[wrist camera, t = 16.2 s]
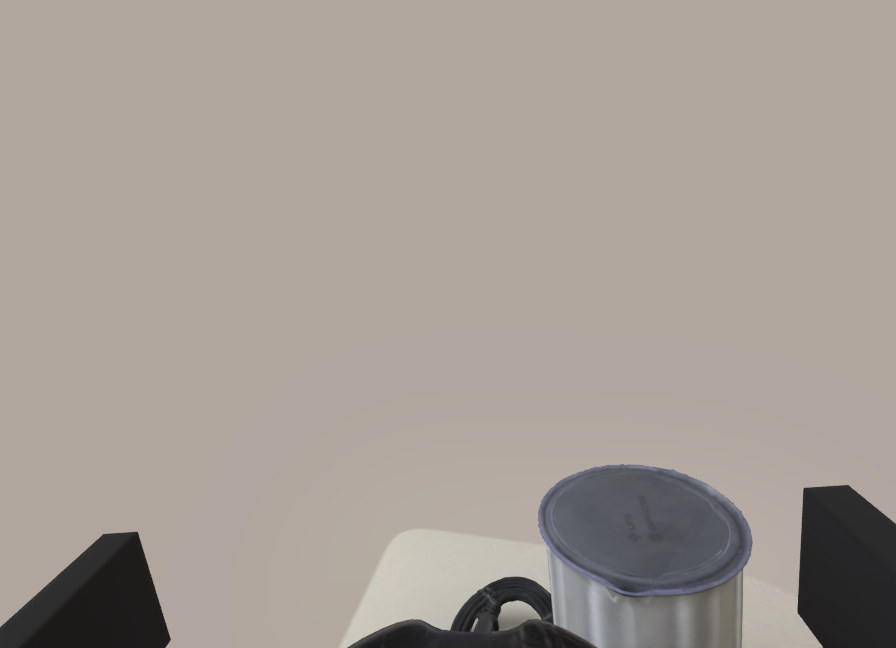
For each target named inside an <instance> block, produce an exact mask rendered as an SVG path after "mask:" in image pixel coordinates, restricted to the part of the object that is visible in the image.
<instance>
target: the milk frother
mask: <svg viewBox="0 0 896 648" xmlns="http://www.w3.org/2000/svg"><path fill="white" fill-rule="evenodd" d="M538 521H539V524H538V526H539V528H540V532H541V535H542V537H543V539H544V541H545V542H546V544H547V553H548V565H549V576H550V588H551V594H550V593H549V592H548V591H547V590H546V589H544V588H543V587H542V586H541V585H539V584H538V583H537V582H535V581H533V580H530V579H527V578H524V577H505V578H502V579H500V580H497V581H495V582H492V583H490V584H488V585H487V586H485V587H484V588H482V589H480V590H479V591H477V593H476V594H474V595H473V596H472V597H471V598H470V599H469V600H468V601H467V602H466V603H465V604H464V605H463V606H462V608H461V609H460V611H459V612H458V614H457V615H456V617H455V619H454V621H453V624H452V627H451V630H450V631H466V632H470V630H471V628H472V626H473V624H474V621H475V619H476V618H478V622H477V624H476V627H475V629H474V632H490V631H498V630H499V626H498V620H497V619H498V616H499V614H500V612H501V606H502V605H503V604H504V603H507V602H513V601H517V600H519V601H523V602H525V603H527V604H529V605H530V606H532V608H533V609H534V610H535V611H536V612H537V613H538V614H539V615H540V617H541V619H542V621H546V622H550V623H552V624H555V625H557V626H559V627H562V628H564V629H566V630H568V631H570V632H572V633H574V634H576V635H578V636H580V637H581V638H583V639H585V640H587V641H588V642H590V643H591V644H593V645H594V646H596V647H597V648H742V607H743V568H744V566H745V565H746V564H747V562H748V560H749V557H750V555H751V548H752V535H751V530H750V527H749V525H748V523H747V521H746V519H745V518H744V516H743V515H742V512H741V511H740V510H739V509H738V508H737V507H736V506H735V505H734V504H733V503H732V502H731V501H730V500H729V499H728V498H726V497H725V496H724V495H722V494H721V493H719V492H718V491H717V490H716V489H714V488H712V487H711V486H709V485H708V484H706V483H704V482H702V481H699V480H697V479H694V478H692V477H689V476H688V475H686V474H682V473H679V472H677V471H675V470H667V469H661V468H656V467H649V466H643V465H623V464H622V465H607V466H602V467H595V468H591V469H589V470H585V471H583V472H578V473H576V474H574V475H571V476H569V477H567V478H564V479H563V480H561V481H560V482H558V483H557V484H556V485H555V486H554V487H552V488H551V489H550V490H549V491H548V493H547V494H546V495H545V496H544V498H543V499H542V501H541V505H540V508H539V513H538Z"/></svg>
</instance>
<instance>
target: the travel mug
mask: <svg viewBox="0 0 896 648" xmlns="http://www.w3.org/2000/svg"><path fill="white" fill-rule="evenodd" d="M348 648H597V647H596V646H594V645H593V644H591V643H590V642H588V641H587V640H585V639H583V638H581V637H580V636H578V635H576V634H574V633H572V632H570V631H568V630H566V629H564V628H562V627H559V626H557V625H555V624H552V623H550V622H546V621H542V620H538V619H534V620H527V621H526V622H524V623H522V624H521V625H520V626H518V627H516V628H513V629H511V630H505V631H490V632H466V631H449V630H441V629H439V628H436V627H433V626H431V625H430V624H428V623H426V622H424V621H422V620H413V619H411V620H406V621H402V622H398V623H395V624H393V625H390V626H388V627H385V628H383V629H380V630H378V631H376V632H374V633H372V634H370V635H368V636H366V637H364V638H362V639H361V640H359V641H357V642H356V643H354V644H353V645H351V646H349V647H348Z"/></svg>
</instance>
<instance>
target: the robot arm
mask: <svg viewBox="0 0 896 648" xmlns="http://www.w3.org/2000/svg"><path fill="white" fill-rule="evenodd" d="M798 614H799V615H800V617H801V618H802V619H803V621H804V622H805V623H806V625H807V626H808V627H809V629H810V630H811V632H812V633H813V634H814V636H815V637H816V638H817V640H818V641H819V642H820V644H821V645H822V646H823V648H896V524H895V523H894V522H893V521H892V520H890V519H889V518H888V517H887V516H885V515H884V514H883V513H882V512H880V511H879V510H878V509H877V508H875V507H874V506H873V505H872V504H871V503H869V502H868V501H867V500H866V499H865V498H863V497H862V496H861V495H859V494H858V493H857V492H856V491H855V490H853V489H852V488H851V487H850V486H849V485H842V486H827V487H812V488H804V490H803V511H802V533H801V552H800V572H799V594H798ZM170 640H171V639H170V636H169V633H168V630H167V626H166V623H165V620H164V616H163V613H162V610H161V606H160V604H159V600H158V597H157V593H156V591H155V587H154V584H153V580H152V577H151V574H150V571H149V567H148V564H147V561H146V558H145V554H144V551H143V548H142V545H141V541H140V538H139V535H138V532H129V533H113V534H103V535H102V536H101V537H100V538H99V539H98V540H97V541H95V542H94V543H93V544H92V545H91V546H90V547H89V548H88V549H87V550H86V551H84V552H83V553H82V554H81V555H80V556H79V557H78V558H77V559H76V560H74V561H73V562H72V563H71V564H70V565H69V566H68V567H67V568H66V569H64V571H62V572H61V573H60V574H59V575H58V576H57V577H56V578H55V579H53V580H52V581H51V582H50V583H49V584H48V585H47V586H46V587H44V588H43V589H42V590H41V591H40V592H39V593H38V594H37V595H36V596H34V598H32V599H31V600H30V601H29V602H28V603H27V604H26V605H25V606H23V607H22V609H20V610H19V611H18V612H17V613H16V614H15V615H13V616H12V617H11V618H10V619H9V620H8V621H7V622H6V623H5V624H3V625H2V626H1V627H0V648H165V647H166V646H167V645H168V643H169V641H170Z"/></svg>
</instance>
